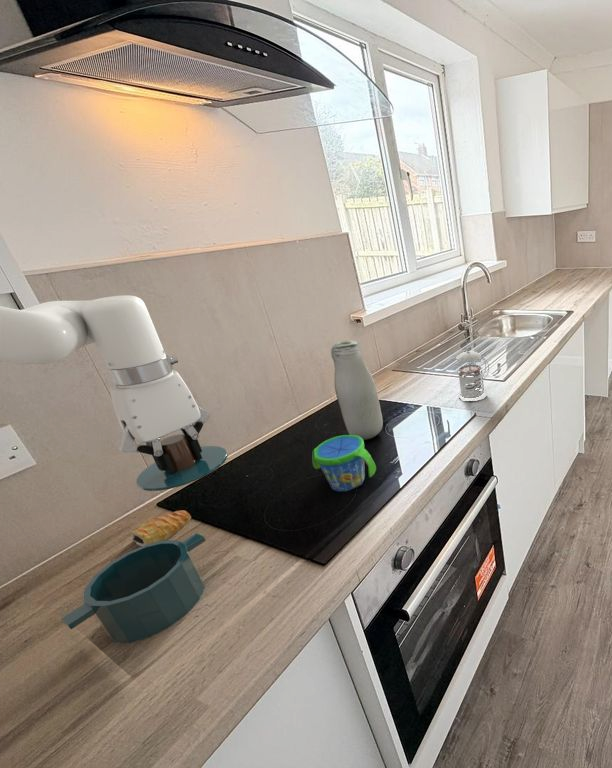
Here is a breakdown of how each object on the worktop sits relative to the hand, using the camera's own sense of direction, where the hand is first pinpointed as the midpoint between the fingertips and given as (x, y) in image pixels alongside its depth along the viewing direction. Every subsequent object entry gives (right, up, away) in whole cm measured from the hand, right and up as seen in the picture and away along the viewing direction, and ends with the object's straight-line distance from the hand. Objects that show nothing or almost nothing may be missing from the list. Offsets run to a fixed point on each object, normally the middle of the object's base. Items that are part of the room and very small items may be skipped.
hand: (182, 463), depth 76 cm
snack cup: (+22, -9, +21) cm, 32 cm away
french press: (+48, +11, +61) cm, 79 cm away
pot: (+2, -22, -8) cm, 24 cm away
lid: (0, -1, 0) cm, 1 cm away
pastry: (-11, -16, +9) cm, 22 cm away
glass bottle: (+20, 0, +40) cm, 45 cm away
